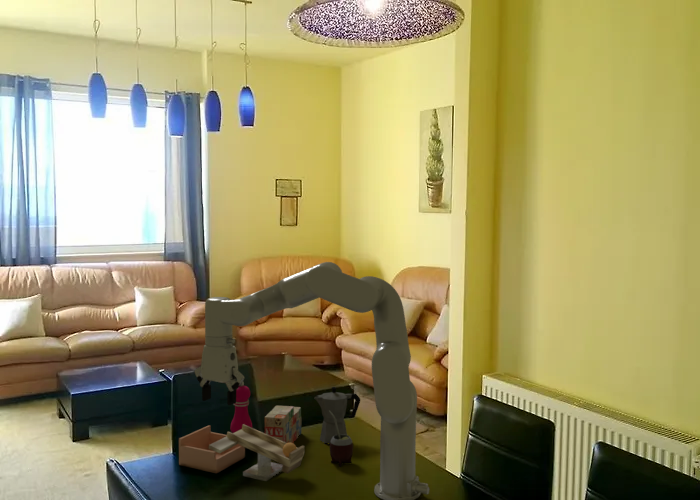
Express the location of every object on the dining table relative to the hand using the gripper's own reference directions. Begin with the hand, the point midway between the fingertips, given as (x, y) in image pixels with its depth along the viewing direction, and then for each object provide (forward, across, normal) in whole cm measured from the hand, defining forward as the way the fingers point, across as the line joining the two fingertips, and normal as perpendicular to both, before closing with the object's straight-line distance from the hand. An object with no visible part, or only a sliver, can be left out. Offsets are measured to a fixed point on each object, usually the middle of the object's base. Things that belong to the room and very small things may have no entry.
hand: (219, 401), depth 190 cm
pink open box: (+22, +10, -9) cm, 26 cm away
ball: (+14, -18, -9) cm, 24 cm away
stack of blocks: (+23, -1, -33) cm, 40 cm away
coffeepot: (+22, -15, -43) cm, 51 cm away
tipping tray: (+17, -9, -5) cm, 20 cm away
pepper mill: (+22, +13, -28) cm, 38 cm away
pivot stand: (+22, -9, -9) cm, 26 cm away
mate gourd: (+22, -25, -26) cm, 43 cm away
